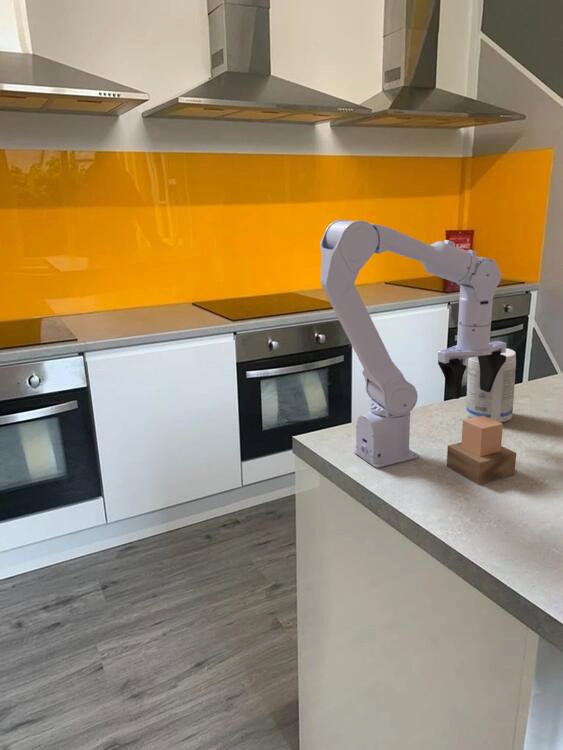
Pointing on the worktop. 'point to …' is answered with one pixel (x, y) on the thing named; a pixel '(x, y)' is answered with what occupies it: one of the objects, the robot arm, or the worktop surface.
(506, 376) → the supplement tub
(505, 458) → the walnut block
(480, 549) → the worktop surface
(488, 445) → the orange-tan cube
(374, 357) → the robot arm
